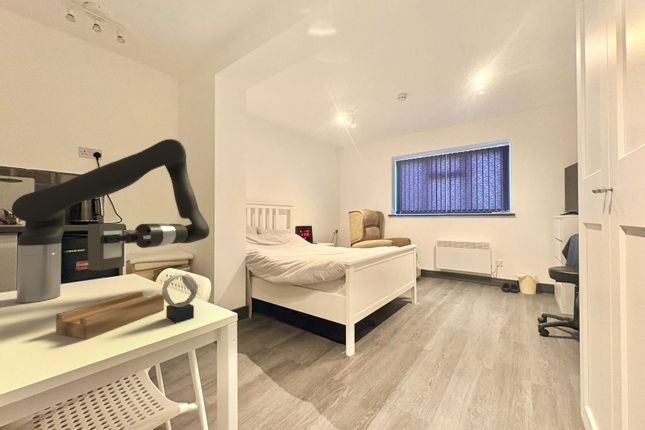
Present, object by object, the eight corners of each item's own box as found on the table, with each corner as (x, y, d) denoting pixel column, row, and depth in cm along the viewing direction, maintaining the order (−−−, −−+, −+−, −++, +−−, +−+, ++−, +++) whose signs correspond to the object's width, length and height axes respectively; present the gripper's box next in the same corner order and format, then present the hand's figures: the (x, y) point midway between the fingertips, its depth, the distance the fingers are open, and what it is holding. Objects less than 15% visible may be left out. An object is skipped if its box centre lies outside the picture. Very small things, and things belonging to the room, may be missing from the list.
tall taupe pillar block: (87, 269, 66) (88, 224, 66) (112, 265, 72) (112, 223, 72) (100, 270, 65) (100, 224, 65) (124, 266, 70) (124, 223, 71)
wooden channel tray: (55, 333, 56) (56, 314, 56) (137, 306, 73) (137, 291, 73) (86, 339, 53) (86, 319, 53) (164, 309, 70) (164, 294, 70)
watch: (201, 315, 66) (201, 273, 66) (167, 326, 59) (167, 279, 59) (191, 310, 69) (191, 270, 69) (158, 320, 63) (158, 275, 63)
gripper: (139, 223, 84) (76, 224, 68) (173, 223, 80) (115, 225, 64) (139, 245, 84) (76, 252, 68) (172, 247, 80) (114, 254, 64)
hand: (95, 239), depth 66 cm, fingers closed on tall taupe pillar block, 4 cm apart
